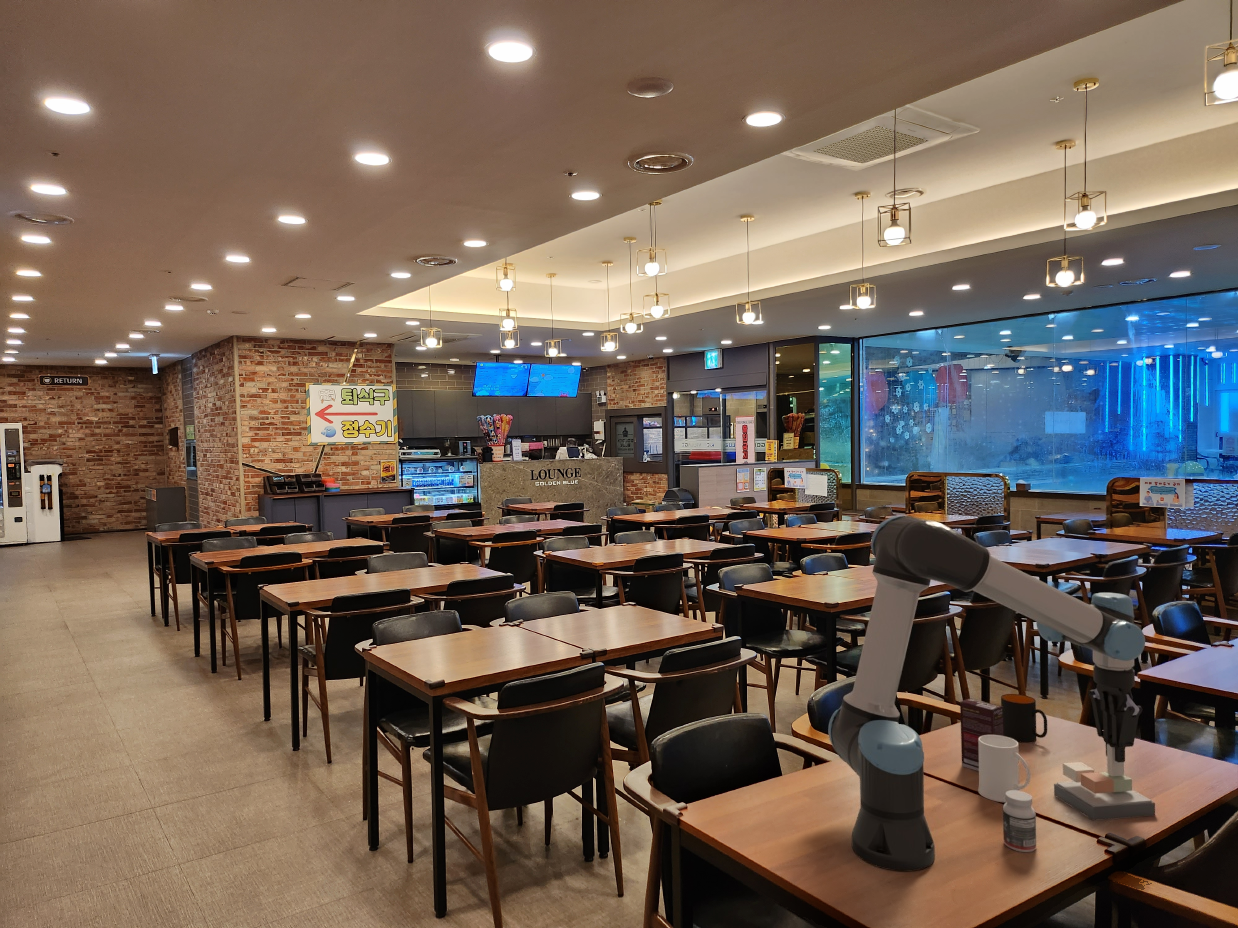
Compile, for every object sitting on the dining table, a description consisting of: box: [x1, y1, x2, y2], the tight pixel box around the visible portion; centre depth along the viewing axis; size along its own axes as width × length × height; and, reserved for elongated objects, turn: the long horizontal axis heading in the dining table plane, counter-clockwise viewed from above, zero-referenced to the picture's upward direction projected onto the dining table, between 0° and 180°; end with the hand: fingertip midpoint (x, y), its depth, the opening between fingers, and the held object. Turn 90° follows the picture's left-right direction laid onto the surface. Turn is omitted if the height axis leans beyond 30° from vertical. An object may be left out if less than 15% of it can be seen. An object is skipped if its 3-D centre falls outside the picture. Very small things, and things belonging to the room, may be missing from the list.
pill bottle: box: [1002, 790, 1037, 853], centre depth 150 cm, size 6×6×10 cm
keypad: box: [1053, 780, 1156, 821], centre depth 167 cm, size 14×12×3 cm
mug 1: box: [1000, 693, 1048, 744], centre depth 205 cm, size 8×12×10 cm
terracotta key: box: [1081, 771, 1114, 794], centre depth 163 cm, size 4×4×2 cm
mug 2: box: [977, 735, 1031, 803], centre depth 171 cm, size 12×8×12 cm
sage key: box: [1099, 771, 1133, 792], centre depth 167 cm, size 4×4×2 cm
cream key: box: [1062, 761, 1095, 782], centre depth 169 cm, size 4×4×2 cm
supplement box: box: [959, 698, 1004, 772], centre depth 187 cm, size 9×5×16 cm, turn 36°
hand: (1115, 774), depth 167 cm, fingers closed
